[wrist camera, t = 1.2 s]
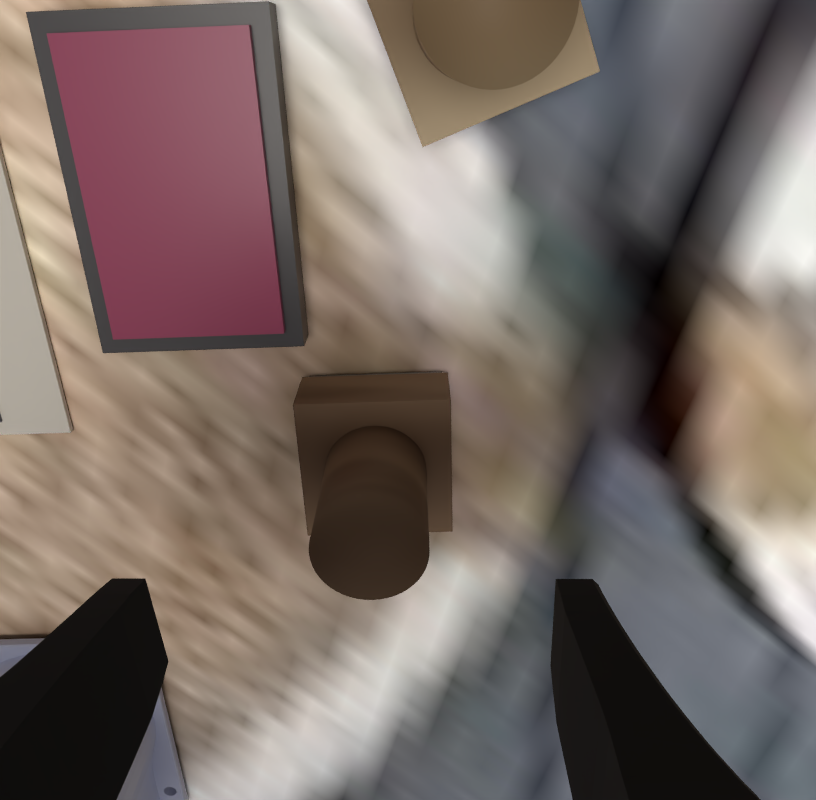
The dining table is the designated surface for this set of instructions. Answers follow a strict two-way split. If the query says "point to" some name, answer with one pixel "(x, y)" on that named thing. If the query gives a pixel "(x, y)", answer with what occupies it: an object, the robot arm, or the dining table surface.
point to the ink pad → (177, 172)
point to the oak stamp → (480, 56)
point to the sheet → (24, 336)
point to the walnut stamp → (374, 476)
